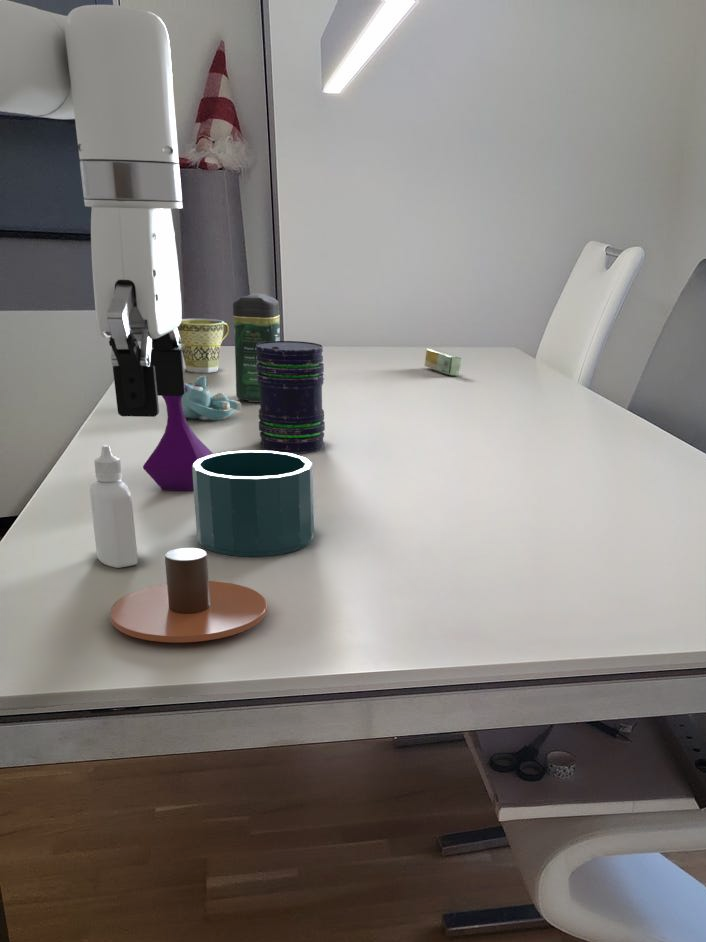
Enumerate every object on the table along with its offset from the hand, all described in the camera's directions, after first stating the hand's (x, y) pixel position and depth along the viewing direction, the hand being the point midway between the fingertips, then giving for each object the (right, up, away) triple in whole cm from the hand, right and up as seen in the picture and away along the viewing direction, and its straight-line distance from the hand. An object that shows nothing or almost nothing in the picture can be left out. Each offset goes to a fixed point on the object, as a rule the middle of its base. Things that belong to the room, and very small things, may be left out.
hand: (153, 404), depth 89 cm
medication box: (+20, +39, +141) cm, 147 cm away
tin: (+3, -9, +27) cm, 28 cm away
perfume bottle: (-11, 0, +46) cm, 47 cm away
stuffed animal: (-18, +18, +87) cm, 90 cm away
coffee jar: (-13, +25, +103) cm, 107 cm away
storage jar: (-1, +9, +69) cm, 70 cm away
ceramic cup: (-30, +37, +131) cm, 139 cm away
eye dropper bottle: (-10, -12, +18) cm, 24 cm away
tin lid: (+2, -18, +4) cm, 18 cm away
